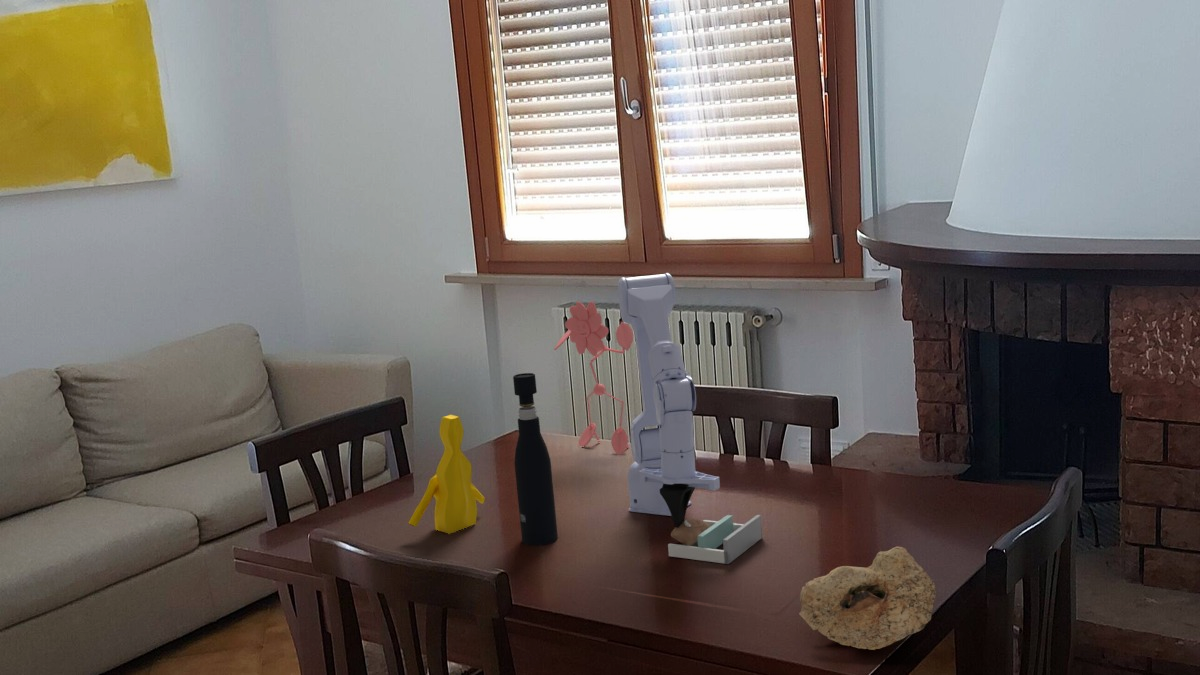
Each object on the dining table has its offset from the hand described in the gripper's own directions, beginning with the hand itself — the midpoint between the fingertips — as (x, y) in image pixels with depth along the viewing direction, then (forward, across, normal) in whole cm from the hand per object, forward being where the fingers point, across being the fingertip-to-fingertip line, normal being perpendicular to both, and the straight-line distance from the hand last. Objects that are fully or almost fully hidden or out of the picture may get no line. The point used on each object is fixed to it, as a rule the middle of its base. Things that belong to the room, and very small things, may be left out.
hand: (681, 526), depth 199 cm
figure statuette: (+4, -44, -8) cm, 45 cm away
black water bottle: (+4, -25, -7) cm, 26 cm away
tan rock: (+4, +42, -19) cm, 46 cm away
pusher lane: (+3, +6, +1) cm, 6 cm away
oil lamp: (+1, -2, 0) cm, 2 cm away
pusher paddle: (+3, +6, +1) cm, 7 cm away
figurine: (+3, -46, +43) cm, 63 cm away
